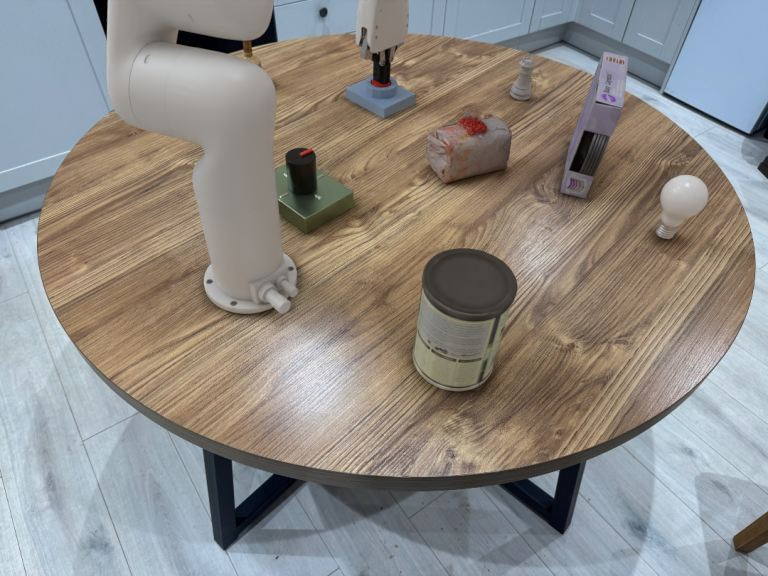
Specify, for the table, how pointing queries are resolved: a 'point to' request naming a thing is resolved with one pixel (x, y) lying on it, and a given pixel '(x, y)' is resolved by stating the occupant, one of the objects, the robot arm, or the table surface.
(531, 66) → the rook chess piece
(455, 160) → the food item
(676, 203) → the lightbulb
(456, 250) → the coffee can
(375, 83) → the button
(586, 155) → the cake pan box
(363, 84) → the button box
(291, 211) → the knob console
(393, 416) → the table surface
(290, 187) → the dial knob
